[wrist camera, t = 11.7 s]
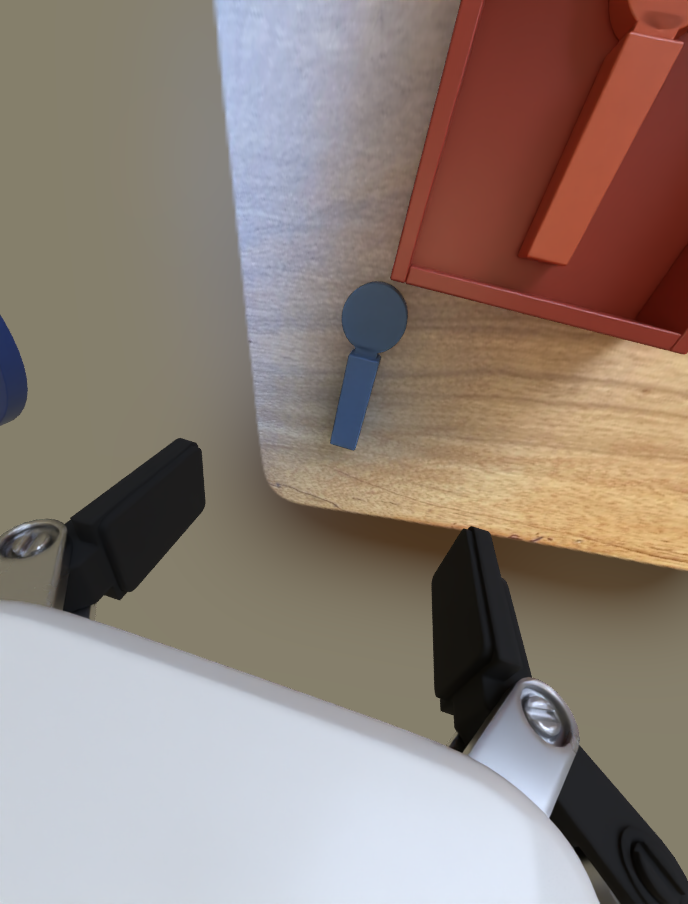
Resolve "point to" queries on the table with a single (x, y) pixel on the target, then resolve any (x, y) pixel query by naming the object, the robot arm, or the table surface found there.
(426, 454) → the table surface
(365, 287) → the blue spoon
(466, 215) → the red bin
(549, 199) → the red spoon
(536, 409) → the table surface
